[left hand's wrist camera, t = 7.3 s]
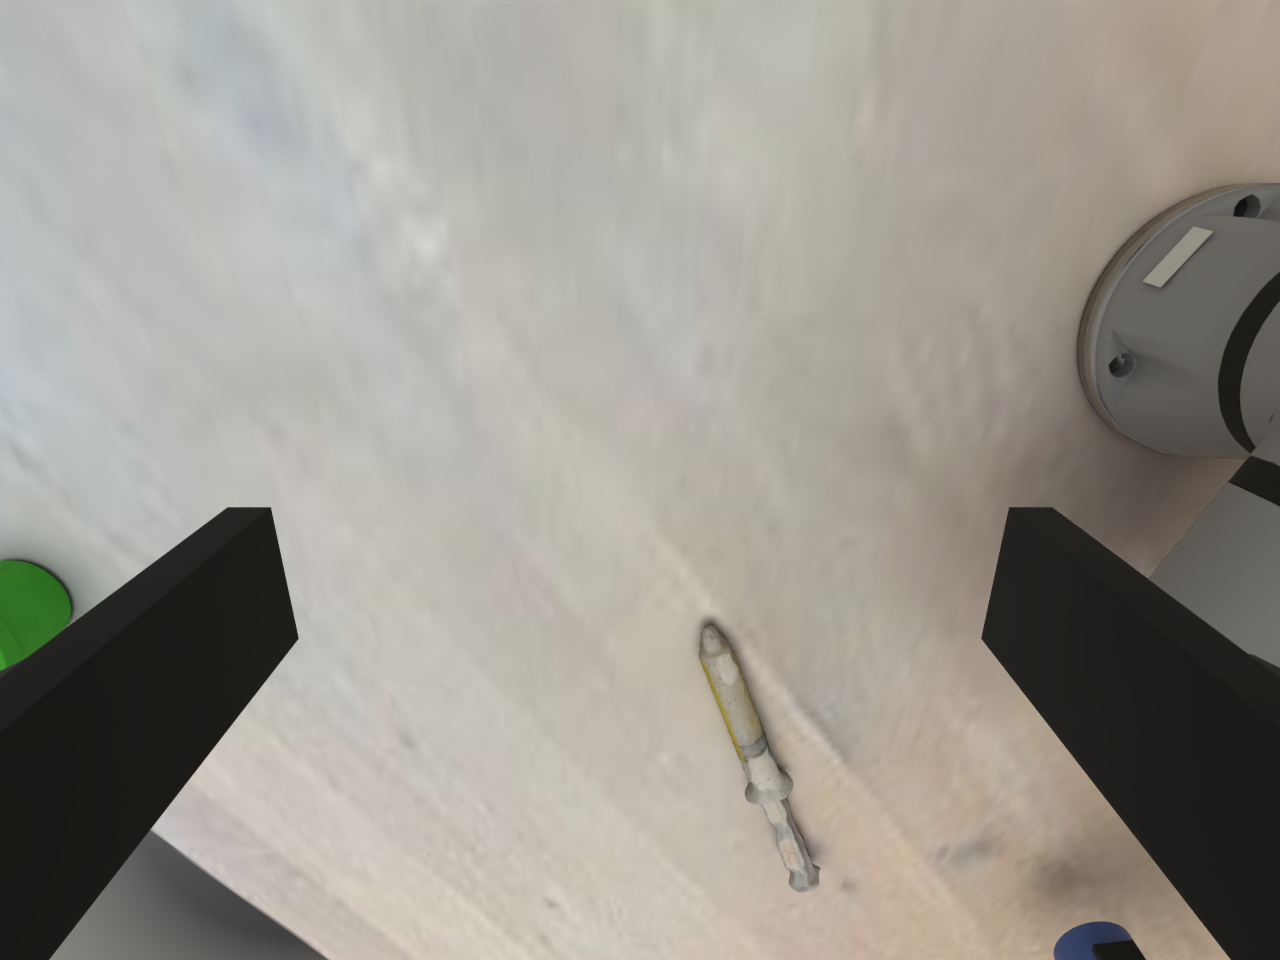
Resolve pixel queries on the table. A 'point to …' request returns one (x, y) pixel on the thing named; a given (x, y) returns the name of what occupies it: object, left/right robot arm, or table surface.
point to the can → (1088, 940)
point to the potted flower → (29, 610)
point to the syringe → (756, 756)
